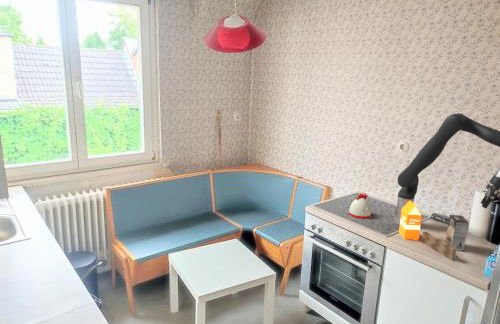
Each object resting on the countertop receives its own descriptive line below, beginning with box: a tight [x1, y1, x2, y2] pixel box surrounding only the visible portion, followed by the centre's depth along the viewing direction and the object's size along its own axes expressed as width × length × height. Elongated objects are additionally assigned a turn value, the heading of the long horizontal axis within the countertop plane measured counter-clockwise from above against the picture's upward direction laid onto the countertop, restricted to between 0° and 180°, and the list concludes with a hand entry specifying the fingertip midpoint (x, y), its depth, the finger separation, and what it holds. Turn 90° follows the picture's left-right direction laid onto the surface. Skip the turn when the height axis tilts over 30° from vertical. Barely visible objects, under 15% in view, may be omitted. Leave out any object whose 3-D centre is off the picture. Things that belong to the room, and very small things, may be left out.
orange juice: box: [398, 201, 422, 241], centre depth 192 cm, size 8×9×20 cm
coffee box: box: [445, 214, 469, 251], centre depth 181 cm, size 9×6×16 cm
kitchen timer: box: [348, 192, 372, 220], centre depth 223 cm, size 14×14×15 cm
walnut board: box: [421, 231, 457, 261], centre depth 177 cm, size 20×2×6 cm, turn 15°
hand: (483, 205), depth 171 cm, fingers open, 8 cm apart
